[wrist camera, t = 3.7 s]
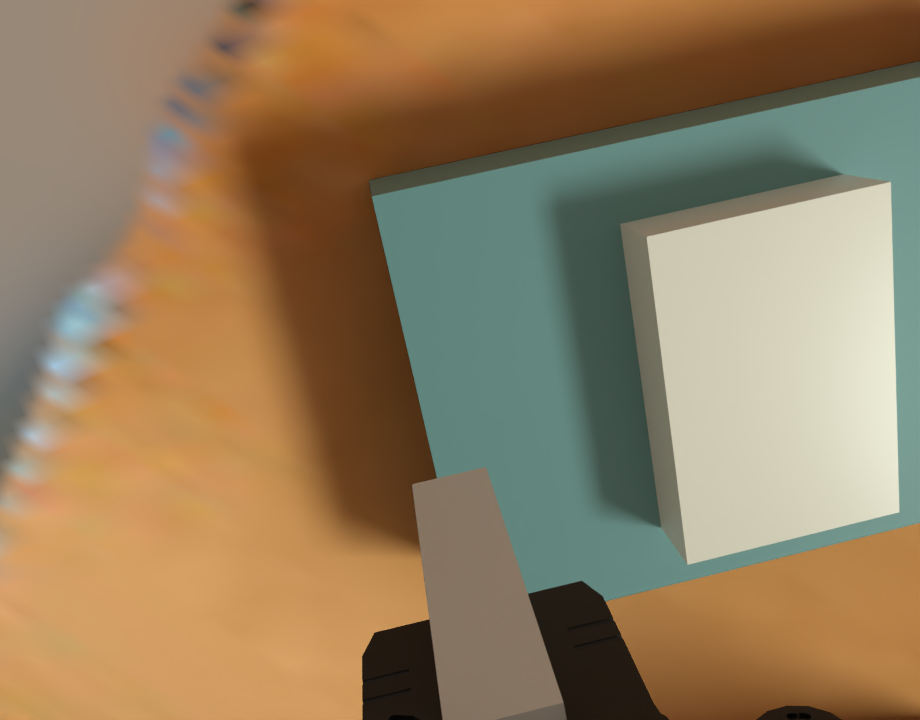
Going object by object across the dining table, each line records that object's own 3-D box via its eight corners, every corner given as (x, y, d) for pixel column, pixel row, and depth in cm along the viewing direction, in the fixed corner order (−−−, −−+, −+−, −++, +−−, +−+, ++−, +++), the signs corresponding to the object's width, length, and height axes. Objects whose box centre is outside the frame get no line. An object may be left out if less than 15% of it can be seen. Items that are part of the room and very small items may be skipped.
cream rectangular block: (661, 527, 24) (687, 564, 22) (620, 223, 21) (646, 236, 19) (856, 479, 24) (899, 512, 22) (843, 174, 21) (890, 181, 19)
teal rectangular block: (457, 561, 28) (473, 634, 24) (368, 180, 24) (371, 196, 20) (1007, 426, 29) (1105, 476, 25) (1016, 40, 25) (1135, 30, 21)
